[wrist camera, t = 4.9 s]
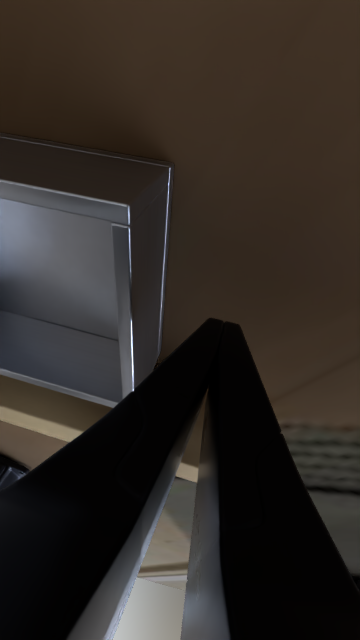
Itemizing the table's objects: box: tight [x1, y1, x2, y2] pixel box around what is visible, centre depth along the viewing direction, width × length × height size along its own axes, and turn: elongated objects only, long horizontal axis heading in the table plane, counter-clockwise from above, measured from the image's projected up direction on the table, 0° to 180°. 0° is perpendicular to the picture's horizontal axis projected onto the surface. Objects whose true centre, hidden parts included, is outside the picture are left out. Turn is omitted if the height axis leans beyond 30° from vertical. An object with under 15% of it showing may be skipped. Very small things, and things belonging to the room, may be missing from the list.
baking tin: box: [0, 133, 174, 408], centre depth 9 cm, size 8×7×3 cm
